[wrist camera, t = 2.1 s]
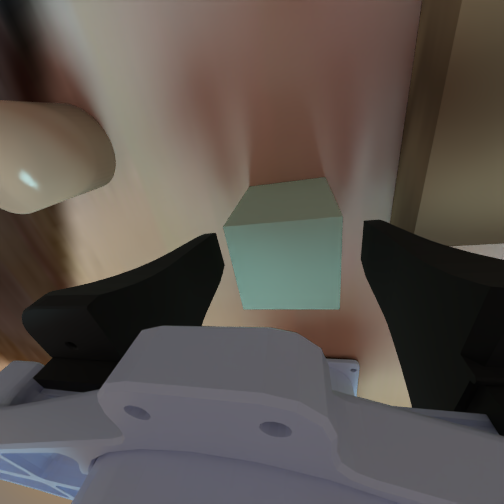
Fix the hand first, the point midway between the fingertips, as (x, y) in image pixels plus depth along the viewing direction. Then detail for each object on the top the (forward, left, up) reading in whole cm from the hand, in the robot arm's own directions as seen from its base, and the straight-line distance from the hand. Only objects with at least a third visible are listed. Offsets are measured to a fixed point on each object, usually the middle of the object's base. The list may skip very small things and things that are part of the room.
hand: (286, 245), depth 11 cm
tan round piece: (+6, +13, -4) cm, 15 cm away
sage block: (0, 0, -4) cm, 4 cm away
